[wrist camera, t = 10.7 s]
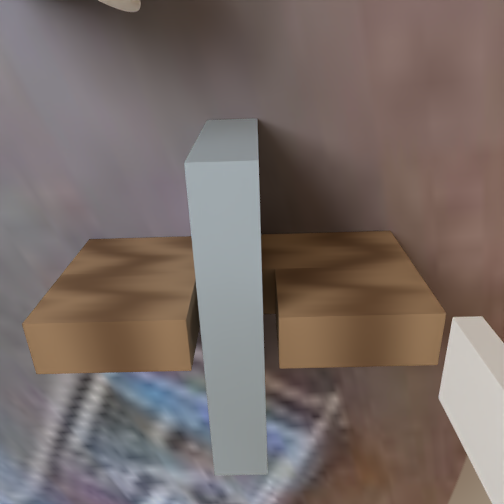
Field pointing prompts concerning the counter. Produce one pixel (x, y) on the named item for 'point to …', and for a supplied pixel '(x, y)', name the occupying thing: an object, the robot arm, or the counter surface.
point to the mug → (123, 4)
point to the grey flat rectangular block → (230, 290)
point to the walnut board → (274, 302)
